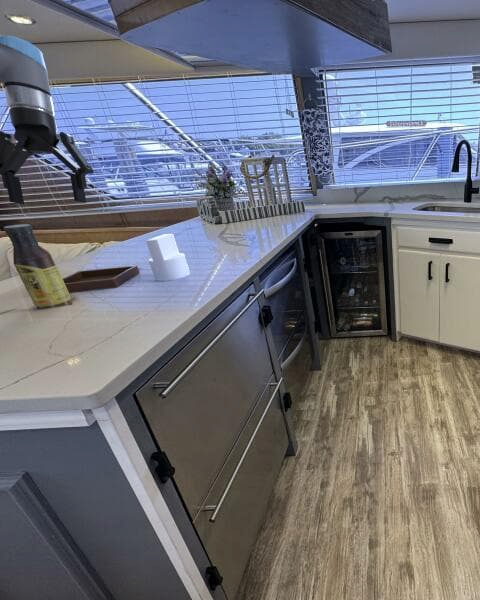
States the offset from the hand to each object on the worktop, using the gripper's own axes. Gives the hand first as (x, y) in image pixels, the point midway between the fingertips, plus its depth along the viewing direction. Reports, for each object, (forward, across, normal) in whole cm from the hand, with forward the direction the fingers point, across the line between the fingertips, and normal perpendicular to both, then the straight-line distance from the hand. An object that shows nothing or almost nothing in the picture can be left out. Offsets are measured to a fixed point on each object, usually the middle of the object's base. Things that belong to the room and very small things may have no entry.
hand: (49, 202), depth 81 cm
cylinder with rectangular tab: (+20, -20, -12) cm, 31 cm away
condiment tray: (+21, 0, -12) cm, 24 cm away
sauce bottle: (+26, -2, +7) cm, 27 cm away
